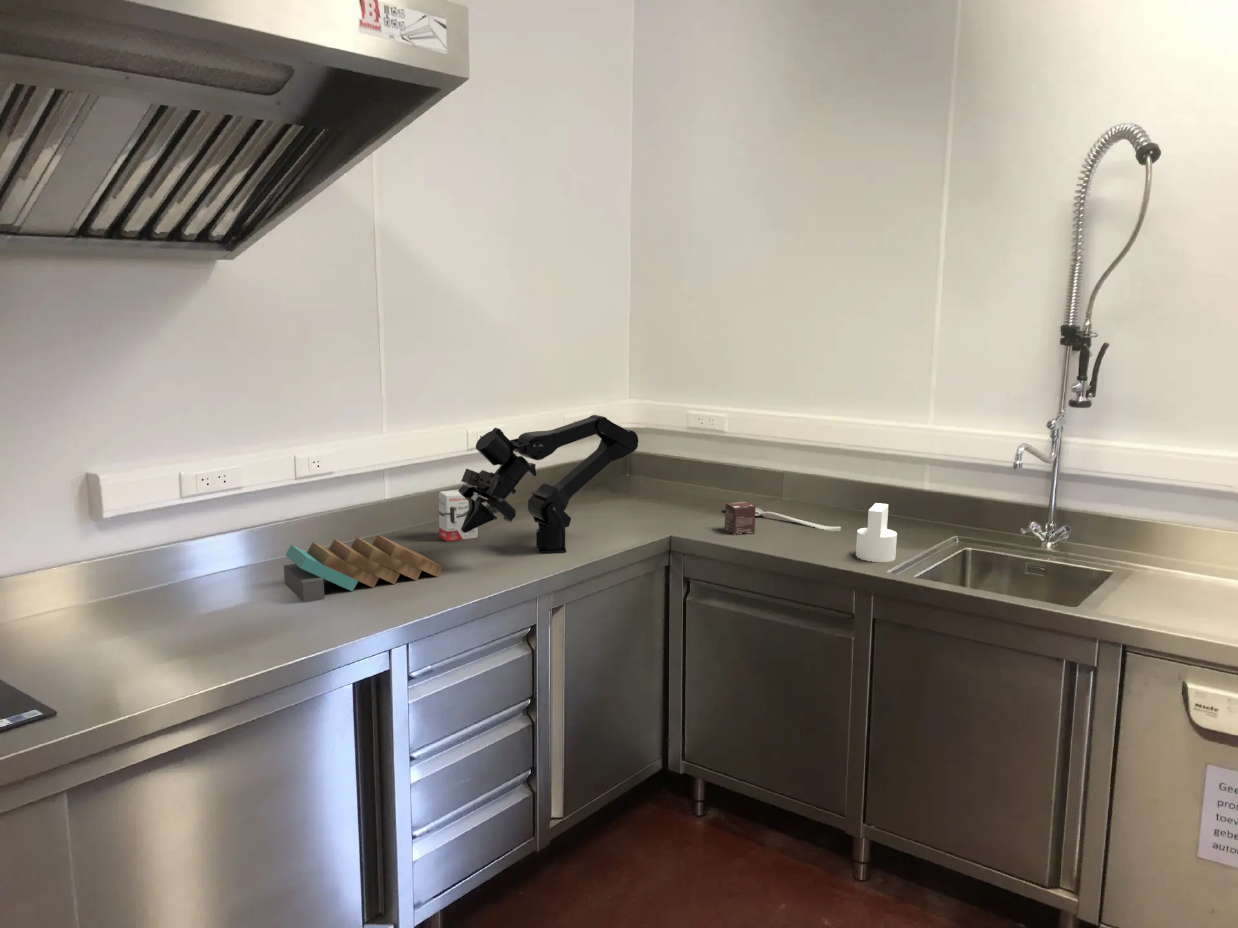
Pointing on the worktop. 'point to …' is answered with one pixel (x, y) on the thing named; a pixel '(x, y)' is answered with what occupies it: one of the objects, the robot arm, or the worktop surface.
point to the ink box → (453, 516)
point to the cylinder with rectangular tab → (876, 537)
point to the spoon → (799, 521)
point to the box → (740, 517)
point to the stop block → (303, 583)
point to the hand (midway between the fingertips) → (462, 531)
